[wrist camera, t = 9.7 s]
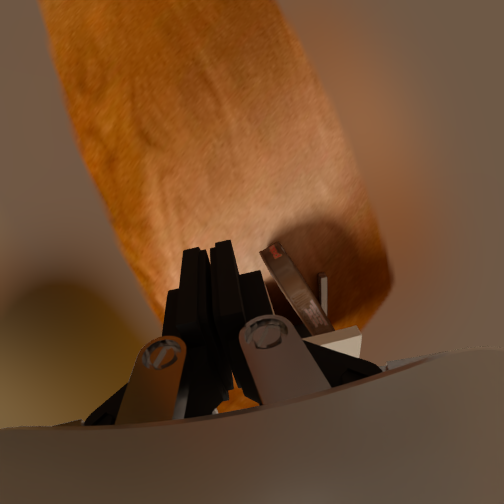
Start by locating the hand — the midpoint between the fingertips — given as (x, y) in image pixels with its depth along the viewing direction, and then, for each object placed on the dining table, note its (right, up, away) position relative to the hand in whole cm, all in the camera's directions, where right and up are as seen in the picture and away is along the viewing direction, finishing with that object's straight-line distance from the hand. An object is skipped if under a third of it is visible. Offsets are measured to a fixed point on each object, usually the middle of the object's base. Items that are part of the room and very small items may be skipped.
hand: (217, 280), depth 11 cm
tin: (+6, -2, +30) cm, 31 cm away
